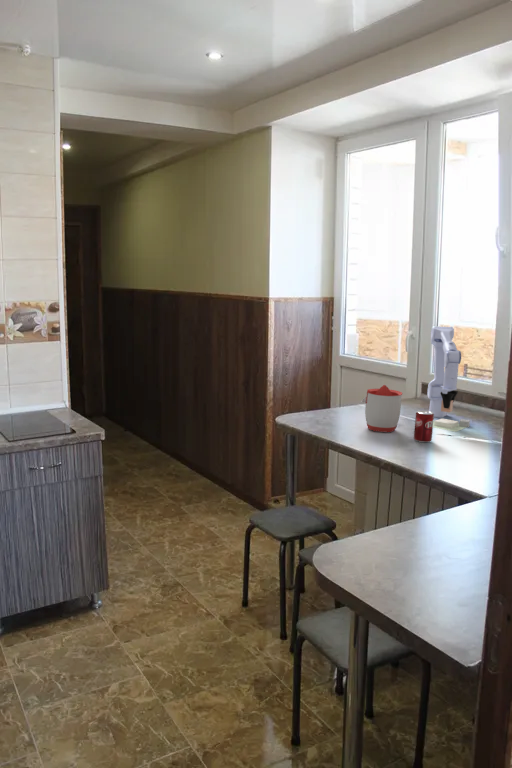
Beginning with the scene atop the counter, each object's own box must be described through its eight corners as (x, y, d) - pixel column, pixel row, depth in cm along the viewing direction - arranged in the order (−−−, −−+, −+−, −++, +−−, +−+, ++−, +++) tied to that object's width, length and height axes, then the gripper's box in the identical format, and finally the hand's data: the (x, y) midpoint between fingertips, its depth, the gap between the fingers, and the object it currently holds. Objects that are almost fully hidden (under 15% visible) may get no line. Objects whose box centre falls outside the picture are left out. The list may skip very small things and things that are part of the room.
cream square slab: (441, 422, 299) (442, 418, 298) (458, 425, 294) (458, 421, 293) (434, 425, 293) (434, 420, 292) (450, 428, 288) (451, 424, 287)
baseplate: (436, 421, 304) (437, 419, 304) (470, 428, 294) (470, 425, 294) (421, 427, 292) (421, 425, 292) (455, 434, 282) (455, 431, 282)
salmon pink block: (443, 409, 295) (444, 398, 294) (452, 411, 293) (453, 400, 292) (440, 411, 292) (441, 400, 291) (449, 412, 289) (450, 401, 289)
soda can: (432, 439, 271) (434, 411, 269) (430, 443, 264) (433, 415, 262) (414, 437, 273) (416, 409, 271) (412, 441, 266) (415, 413, 264)
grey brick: (460, 424, 297) (460, 419, 296) (469, 425, 295) (470, 420, 294) (459, 426, 293) (459, 420, 292) (468, 427, 291) (468, 421, 291)
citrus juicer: (360, 423, 294) (363, 380, 290) (399, 427, 291) (402, 383, 287) (358, 431, 279) (361, 386, 275) (399, 435, 276) (403, 389, 272)
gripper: (446, 374, 297) (444, 403, 300) (436, 378, 285) (434, 408, 288) (462, 376, 294) (459, 405, 296) (452, 380, 282) (449, 410, 284)
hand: (447, 407), depth 292 cm, fingers closed on salmon pink block, 4 cm apart
